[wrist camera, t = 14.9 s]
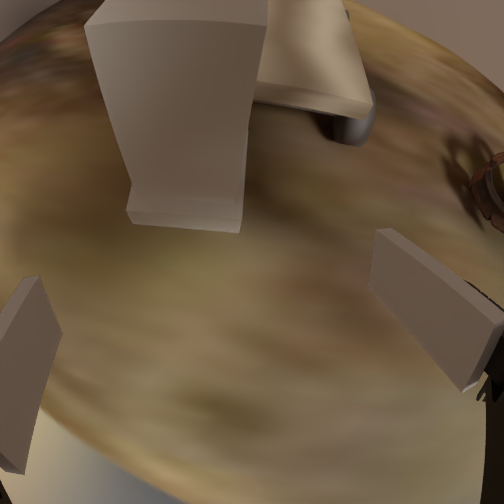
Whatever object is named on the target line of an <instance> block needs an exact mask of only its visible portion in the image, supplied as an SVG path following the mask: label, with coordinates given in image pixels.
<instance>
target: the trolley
mask: <svg viewBox="0 0 504 504" xmlns="http://www.w3.org/2000/svg"><path fill="white" fill-rule="evenodd" d="M253 102H256V103H263V104H270V105H276V106H283V107H289V108H294V109H300V110H306V111H311V112H316V113H321V114H326V115H330V116H334V118H333V133H334V138H335V140H336V142H338V143H342V144H346V145H351V146H356V147H361V146H362V145H363V144H364V143H365V142H366V141H367V139H368V137H369V135H370V133H371V131H372V128H373V124H374V120H375V113H376V100H375V95H374V92H373V90H372V89H371V88H370V87H369V86H368V82H367V78H366V75H365V71H364V67H363V64H362V61H361V57H360V54H359V51H358V47H357V44H356V41H355V38H354V35H353V32H352V29H351V26H350V23H349V13H348V11H347V10H345V9H344V6H343V4H342V1H341V0H268V13H267V29H266V34H265V39H264V44H263V49H262V54H261V59H260V65H259V70H258V75H257V80H256V86H255V91H254V96H253Z"/></svg>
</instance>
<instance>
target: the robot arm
mask: <svg viewBox="0 0 504 504" xmlns="http://www.w3.org/2000/svg"><path fill="white" fill-rule="evenodd" d="M368 289H369V290H370V291H371V292H372V293H373V294H374V295H375V296H376V297H377V298H378V299H379V300H380V301H381V302H382V303H383V305H384V306H385V307H386V308H387V309H388V310H389V311H390V312H391V313H392V314H393V315H394V316H395V317H396V319H397V320H398V321H399V322H400V323H401V324H402V325H403V326H404V327H405V328H406V330H407V331H408V332H409V333H410V334H411V335H412V336H413V337H414V338H415V340H416V341H417V342H418V343H419V344H420V345H421V346H422V347H423V348H424V350H425V351H426V352H427V353H428V354H429V355H430V356H431V358H432V359H433V360H434V361H435V362H436V363H437V364H438V366H439V367H440V368H441V369H442V370H443V371H444V373H445V374H446V375H447V376H448V377H449V378H450V380H451V381H452V382H453V383H454V384H455V386H456V387H457V388H458V389H459V390H460V392H461V393H462V392H464V391H466V390H467V389H469V388H471V387H473V386H474V385H476V384H477V383H478V381H479V379H480V377H481V375H482V373H483V372H484V371H485V372H486V373H487V374H488V375H489V376H488V378H487V380H486V381H485V383H484V385H483V387H482V388H481V390H480V392H479V393H478V395H477V399H476V400H477V401H479V400H480V398H481V396H482V395H483V393H486V396H485V397H484V399H483V401H485V402H486V446H485V463H484V475H483V484H482V493H481V500H480V504H504V309H502V308H501V307H500V306H499V305H498V304H496V303H495V302H494V301H493V300H491V299H490V298H489V299H488V296H486V295H485V294H484V293H483V292H480V290H479V289H478V288H476V287H475V286H474V285H472V284H471V283H469V282H467V281H465V280H463V279H461V278H460V277H459V276H458V275H456V274H455V273H454V272H452V271H451V270H450V269H448V268H447V267H446V266H444V265H443V264H441V263H440V262H439V261H437V260H436V259H435V258H433V257H432V256H431V255H429V254H428V253H426V252H425V251H424V250H422V249H421V248H419V247H418V246H416V245H415V244H414V243H412V242H411V241H409V240H408V239H406V238H405V237H404V236H402V235H401V234H399V233H398V232H396V231H395V230H393V229H392V228H386V229H378V230H376V233H375V242H374V250H373V257H372V264H371V271H370V278H369V285H368ZM62 334H63V333H62V331H61V329H60V326H59V324H58V322H57V319H56V317H55V315H54V312H53V310H52V307H51V305H50V302H49V300H48V297H47V294H46V292H45V289H44V286H43V283H42V281H41V278H40V275H39V276H32V277H25V278H23V280H22V281H21V283H20V284H19V285H18V287H17V288H16V290H15V291H14V293H13V294H12V296H11V297H10V299H9V300H8V302H7V303H6V305H5V307H4V308H3V310H2V311H1V313H0V467H1V468H2V469H3V470H4V471H5V472H10V473H16V474H23V475H24V474H25V468H26V463H27V458H28V453H29V448H30V444H31V439H32V435H33V431H34V426H35V422H36V418H37V414H38V411H39V407H40V403H41V399H42V396H43V392H44V389H45V386H46V382H47V379H48V376H49V373H50V369H51V366H52V363H53V360H54V357H55V354H56V351H57V348H58V346H59V343H60V340H61V337H62ZM0 504H12V503H11V500H10V498H9V496H8V495H7V493H6V491H5V489H4V487H3V485H2V483H1V481H0Z"/></svg>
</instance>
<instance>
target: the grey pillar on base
mask: <svg viewBox="0 0 504 504" xmlns="http://www.w3.org/2000/svg"><path fill="white" fill-rule="evenodd" d="M267 13H268V0H106V1H105V2H104V3H103V4H102V5H101V6H100V7H99V8H98V10H97V11H96V12H95V13H94V14H93V15H92V17H91V18H90V19H89V20H88V22H87V23H86V24H85V25H84V29H85V33H86V37H87V41H88V45H89V49H90V53H91V57H92V60H93V64H94V68H95V71H96V75H97V78H98V82H99V85H100V89H101V92H102V95H103V99H104V102H105V105H106V109H107V112H108V115H109V118H110V121H111V124H112V127H113V130H114V134H115V137H116V140H117V143H118V145H119V148H120V151H121V154H122V157H123V160H124V163H125V166H126V168H127V171H128V174H129V177H130V179H131V182H132V186H131V190H130V194H129V199H128V203H127V207H126V212H127V214H128V216H129V218H130V220H131V222H132V224H137V225H150V226H162V227H174V228H186V229H198V230H209V231H220V232H232V233H239V231H240V227H241V222H242V213H243V199H244V184H245V170H246V156H247V143H248V124H249V118H250V113H251V107H252V102H253V96H254V91H255V86H256V80H257V75H258V70H259V65H260V59H261V54H262V49H263V44H264V39H265V34H266V29H267Z"/></svg>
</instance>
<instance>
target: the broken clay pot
mask: <svg viewBox="0 0 504 504" xmlns="http://www.w3.org/2000/svg"><path fill="white" fill-rule="evenodd" d="M502 163H504V152H501V153H498V154H496V155H495V156H493V157H492V158H491V161H490V162H488V163H487V164H486V165H485V166H484V167H483V168H481V169H479V170H477V171H476V172H475V173H474V175H473V177H472V179H471V181H470V183H469V186H468V188H469V189H471V192H472V194H473V197H474V199H475V201H476V203H477V206H478V207H479V209H480V211H481V213H482V214H483V217H484V218H485V219H486V220H491V225H492V226H493V227H495V228H496V229H498V230H500V231H501V232H502V233H504V203H503V202H502V201H501V200H500V197H499V196H498V194H497V193H496V190H495V188H494V184H493V171H492V169H493V168H496V167H497V166H498V165H500V164H502Z"/></svg>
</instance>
